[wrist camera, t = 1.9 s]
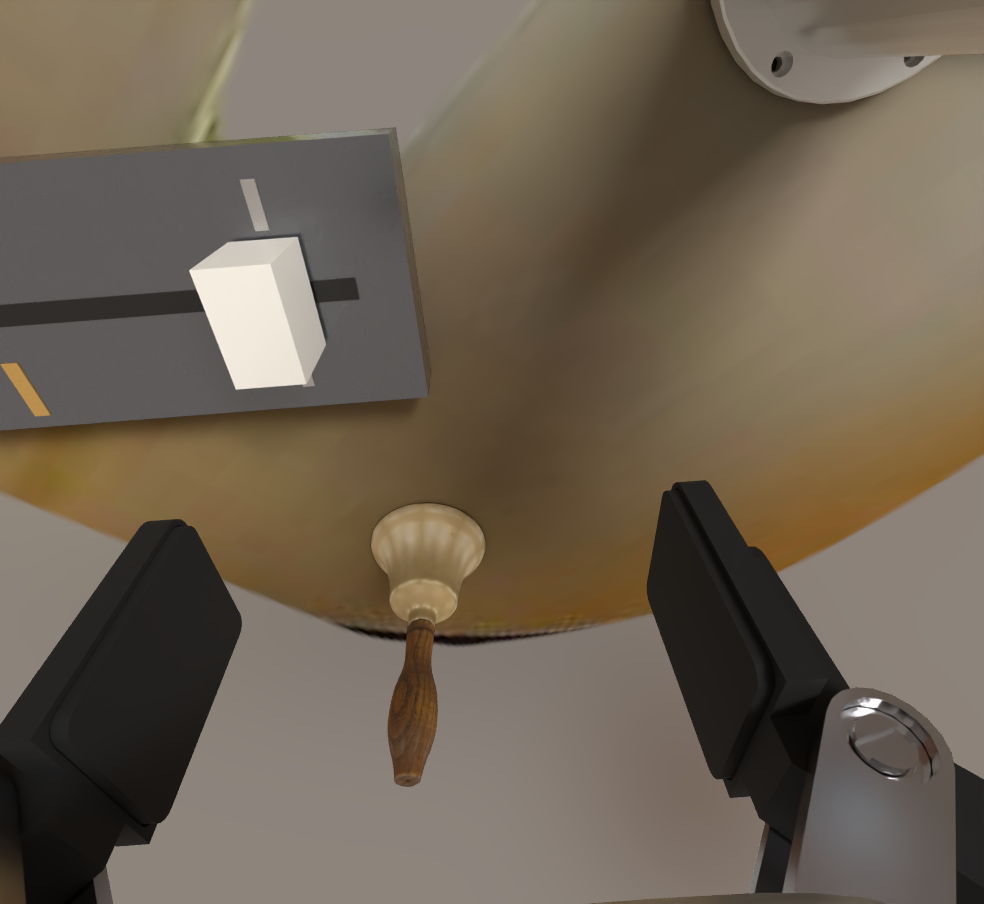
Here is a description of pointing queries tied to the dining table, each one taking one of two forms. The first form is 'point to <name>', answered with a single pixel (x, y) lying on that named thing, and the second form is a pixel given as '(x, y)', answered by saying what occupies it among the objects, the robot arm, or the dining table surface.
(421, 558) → the hand bell
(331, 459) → the dining table surface
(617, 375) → the dining table surface
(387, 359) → the fader panel
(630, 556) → the dining table surface
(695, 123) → the dining table surface
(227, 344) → the fader knob
